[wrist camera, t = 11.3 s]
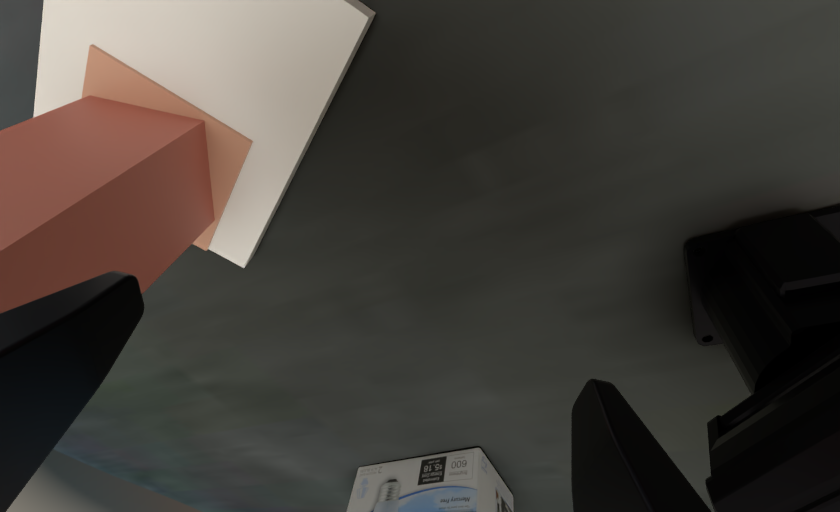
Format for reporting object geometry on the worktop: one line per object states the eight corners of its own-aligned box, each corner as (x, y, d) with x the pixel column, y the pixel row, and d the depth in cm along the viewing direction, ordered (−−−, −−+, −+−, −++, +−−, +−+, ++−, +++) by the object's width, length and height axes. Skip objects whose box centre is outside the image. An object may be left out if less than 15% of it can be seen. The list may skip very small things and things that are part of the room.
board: (89, -191, 15) (56, -201, 14) (376, 13, 18) (367, 18, 16) (50, 143, 23) (26, 154, 22) (253, 255, 25) (242, 270, 24)
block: (204, 120, 20) (-88, 307, 10) (214, 220, 23) (-3, 440, 13) (89, 95, 20) (-314, 255, 10) (114, 197, 23) (-178, 400, 13)
